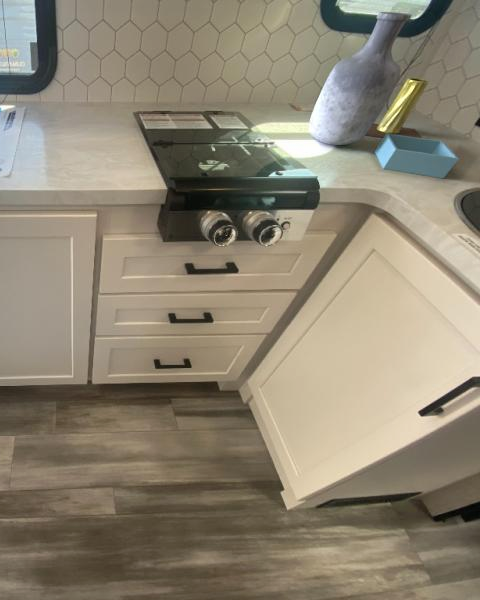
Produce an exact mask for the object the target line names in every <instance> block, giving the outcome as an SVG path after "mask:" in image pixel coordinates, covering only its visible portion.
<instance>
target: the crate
mask: <svg viewBox="0 0 480 600" xmlns="http://www.w3.org/2000/svg"><path fill="white" fill-rule="evenodd" d="M374 154H375V156H376V157H377V160H378V162H379V164H380V165H381V167H382V169H383V170H389V171H394V172H401V173H405V174H406V173H407V174H411V175H412V174H414V175H418V176H419V175H420V176H425V177H432V178H437V179H444V178H445V177H446V176H447V174H448V173H449V172H450V171H451V169H452V168H453V167H454V166H455V165H456V163H457V162H458V161H459V157H458V156H457V155H456V154H455V153H454V151H452V149H451V148H450V147H448V145H447V144H446V143H445V142H444V141H443V140H436V139H429V138H423V137H422V138H416V137H409V136H401V135H394V134H387V133H386V134H385V135H384V137H383V138H381V140H380V141H379V144H378V145H377V147H376V148H375V150H374Z"/></svg>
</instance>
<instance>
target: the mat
mask: <svg viewBox="0 0 480 600" xmlns="http://www.w3.org/2000/svg"><path fill="white" fill-rule="evenodd" d="M379 124H380V123H374V124H373V125H372V126H371V128H370V129H369V131H368V132H367V133H366V134H365V135H364V137H365V136H366V137H373V138H380V139H382V138H383V137H384V135H385V134H386V133H384V132H380V131H378V130H377V127H378V126H379ZM387 134H388V133H387ZM394 135H401V136H409V137H416V138H423V137H422V135H420V133H419V132H418V131H417V130H416V129H415V128H411V127H405V126H402V128H401V129H400V132H399V133H397V134H394Z"/></svg>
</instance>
